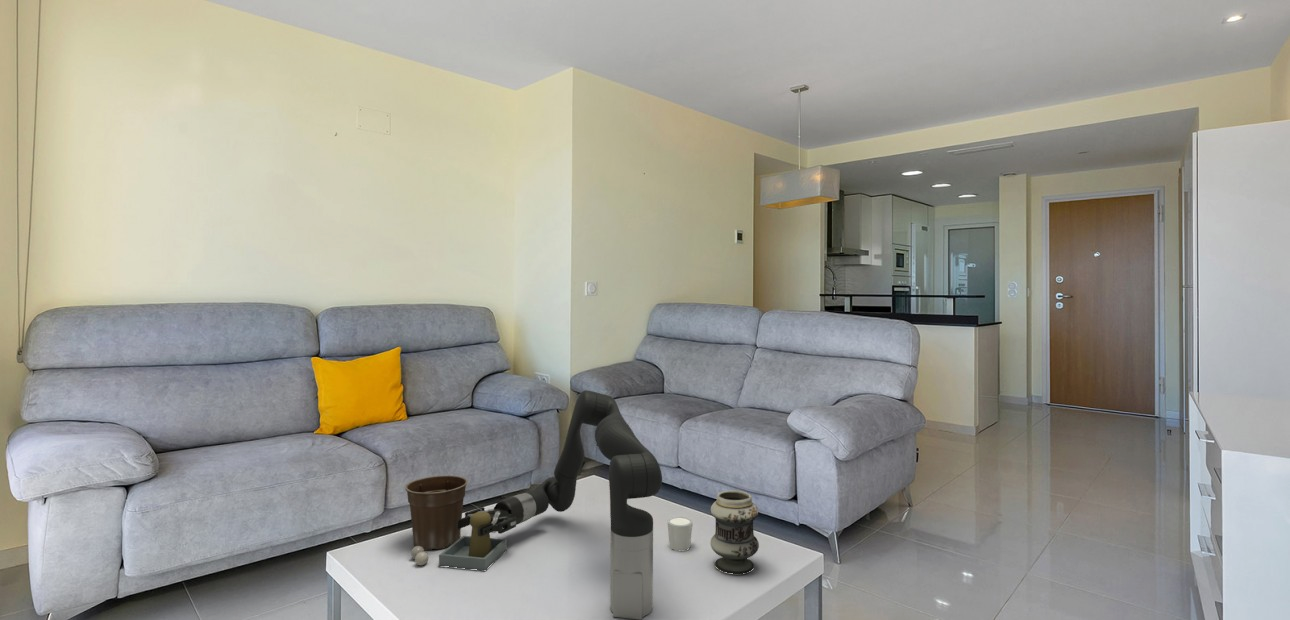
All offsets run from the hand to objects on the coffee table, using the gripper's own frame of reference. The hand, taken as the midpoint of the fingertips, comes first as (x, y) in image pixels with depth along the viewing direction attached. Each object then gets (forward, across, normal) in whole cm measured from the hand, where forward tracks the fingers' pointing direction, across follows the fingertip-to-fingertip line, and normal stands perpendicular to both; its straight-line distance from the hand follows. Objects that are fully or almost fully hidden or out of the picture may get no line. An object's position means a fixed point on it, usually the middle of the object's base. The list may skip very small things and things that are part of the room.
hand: (467, 528), depth 152 cm
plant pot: (-3, -17, +9) cm, 19 cm away
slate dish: (-2, 0, +8) cm, 8 cm away
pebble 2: (+8, -8, +8) cm, 14 cm away
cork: (-3, +2, +8) cm, 8 cm away
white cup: (-39, +39, +9) cm, 56 cm away
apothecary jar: (-37, +57, +9) cm, 68 cm away
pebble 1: (+7, -12, +8) cm, 16 cm away
